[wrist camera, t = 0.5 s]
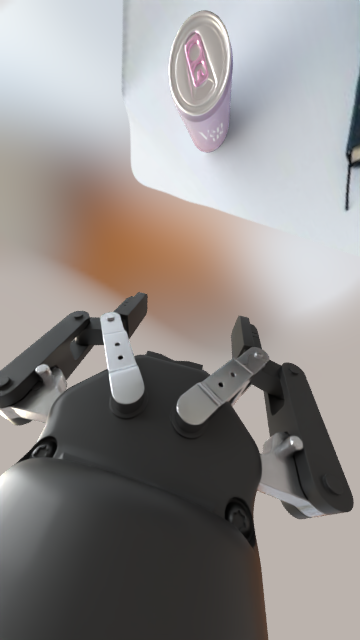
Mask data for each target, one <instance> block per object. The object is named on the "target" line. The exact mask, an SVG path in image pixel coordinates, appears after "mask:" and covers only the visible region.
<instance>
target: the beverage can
mask: <svg viewBox="0 0 360 640" xmlns="http://www.w3.org/2000/svg"><path fill="white" fill-rule="evenodd" d="M232 69H233V56H232V48H231V44H230V40H229V36H228V33H227V30H226V27H225V25H224V24H223V22H222V20H221V19H220V18H219V17H218V16H217V15H216V14H214V13H213V12H210V11H199V12H196V13H194V14H193V15H191V16H190V17H189V18H188V19H187V20H186V21H185V22H184V23H183V24H182V26H181V27H180V29H179V31H178V33H177V35H176V37H175V40H174V42H173V46H172V49H171V54H170V60H169V81H170V88H171V94H172V98H173V101H174V104H175V106H176V108H177V110H178V112H179V114H180V116H181V118H182V120H183V122H184V124H185V126H186V128H187V130H188V132H189V134H190V136H191V138H192V140H193V142H194V144H195V146H196V147H197V148H198V149H199V150H200V151H203V152H212V151H214V150H216V149H217V148H218V147H219V146H220V145H221V144H222V143H223V141H224V139H225V137H226V135H227V132H228V128H229V117H230V101H231V85H232Z"/></svg>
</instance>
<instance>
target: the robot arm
mask: <svg viewBox="0 0 360 640" xmlns="http://www.w3.org/2000/svg"><path fill="white" fill-rule="evenodd" d="M147 298H148V297H147V294H144V293H140V292H138V293H137V294H136V295H135V296H134V297H133V296H131V297H129V298H127V299H126V300H125V301H124V302H123V303H122V304H121V305H120V306H119V307H118V308H117V309H116V310H115V311H114V312H109V313H105V314H103V315H102V316H101V317H100V318H92V317H91V318H90V317H89V314H88V313H87V312H85V311H76V312H73V313H71V314H69V315H68V316H67V317H66V318H64V319H63V320H62V321H61V322H59V323H58V324H57V325H56V326H55V327H53V328H52V329H51V330H50V331H48V332H47V333H46V334H45V335H44V336H42V337H41V338H40V339H39V340H38V341H36V342H35V343H34V344H32V345H31V346H30V347H29V348H28V349H26V350H25V351H24V352H23V353H21V354H20V355H19V356H18V357H17V358H15V359H14V360H13V361H12V362H10V363H9V364H8V365H7V366H6V367H4V368H3V369H2V370H1V371H0V414H1V415H2V416H3V417H5V418H7V419H8V420H9V421H10V422H12V423H13V424H14V425H23V424H26V423H29V422H31V421H32V420H34V421H39V422H43V423H46V424H45V427H44V429H43V432H42V434H41V435H40V437H39V439H38V441H37V442H36V444H35V445H34V446H33V448H32V449H31V450H30V451H29V452H28V453H27V454H26V455H25V456H24V457H23V458H21V459H20V460H19V461H18V462H17V463H16V464H14V465H13V466H12V467H11V468H9V469H8V470H7V471H6V472H5V473H3V474H2V475H1V477H0V640H268V632H267V623H266V612H265V602H264V593H263V583H262V572H261V564H260V558H259V552H258V546H257V541H256V536H255V529H254V521H253V510H254V501H255V496H256V492H257V491H260V492H262V493H265V494H267V495H270V496H272V497H275V498H277V499H280V500H281V502H282V504H283V506H284V507H285V509H286V510H287V511H288V512H289V513H290V514H291V515H292V516H294V517H295V518H297V519H306V518H312V517H318V516H324V515H331V514H337V513H344V512H349V511H351V510H352V508H353V496H352V493H351V490H350V488H349V486H348V483H347V480H346V478H345V475H344V473H343V470H342V468H341V465H340V463H339V460H338V457H337V455H336V452H335V450H334V447H333V445H332V442H331V440H330V437H329V435H328V432H327V430H326V427H325V424H324V422H323V420H322V417H321V415H320V412H319V409H318V407H317V404H316V402H315V399H314V397H313V394H312V391H311V389H310V386H309V384H308V382H307V380H306V376H305V374H304V372H303V371H302V370H301V369H300V368H299V367H298V366H296V365H294V364H292V363H283V365H282V366H281V365H279V364H277V363H275V362H273V361H271V360H269V356H268V354H267V353H266V352H265V351H264V350H262V348H261V344H260V339H259V335H258V331H257V329H256V328H255V326H254V325H251V324H250V322H249V318H247V317H243V316H239V317H238V319H237V321H236V323H235V326H234V328H233V331H232V335H231V341H232V359H231V360H230V361H229V362H227V363H226V364H225V365H223V366H222V367H221V368H219V369H218V370H217V371H216V372H214V373H213V374H212V375H210V374H208V373H207V372H206V371H204V370H202V367H203V365H200V364H197V363H193V362H189V361H174V360H171V359H170V358H168V357H165V356H163V355H162V354H158V353H155V352H151V351H147V354H146V355H137V356H134V354H133V351H132V348H131V345H130V342H129V339H130V337H131V336H132V334H133V333H134V331H135V330H136V329H137V327H138V326H139V324H140V322H141V321H142V320H143V318H144V317H145V315H146V313H147ZM94 345H104V347H105V353H106V359H107V365H108V369H106V370H104V371H102V372H100V373H98V374H96V375H94V376H92V377H90V378H88V379H86V380H84V381H82V382H80V383H78V384H76V385H74V386H72V387H70V388H69V389H67V390H66V387H67V382H66V380H67V379H68V377H69V376H70V375H71V374H72V372H73V371H74V370H75V368H76V367H77V366H78V365H79V364H80V362H81V361H82V360H83V359H84V357H85V356H86V355H87V354H88V352H89V351H90V350H91V349H92V347H93V346H94ZM251 385H254V386H256V387H258V388H260V389H261V390H263V391H264V397H265V404H266V411H267V418H268V426H269V433H270V438H269V439H268V440H267V441H266V442H265V443H264V445H263V454H260V453H259V450H258V447H257V445H256V444H255V441H254V440H253V438H252V437H251V435H250V433H249V432H248V430H247V429H246V427H245V426H244V424H243V423H242V421H241V420H240V418H239V417H238V415H237V413H236V412H235V410H234V409H233V407H232V406H233V405H234V404H235V403H236V401H237V400H238V399H239V398H240V397H241V396H242V395H243V394H244V393H245V392H246V391H247V389H248V388H249V387H250V386H251ZM65 390H66V391H65Z"/></svg>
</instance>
